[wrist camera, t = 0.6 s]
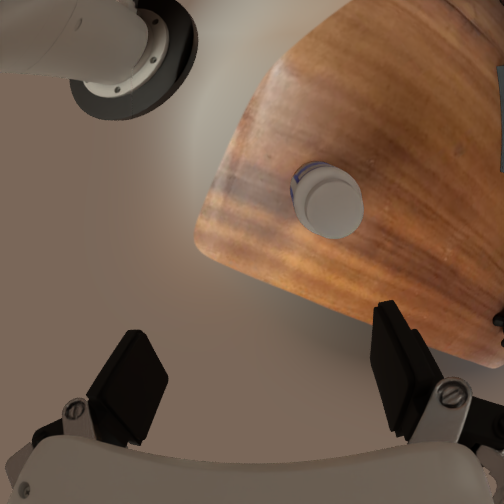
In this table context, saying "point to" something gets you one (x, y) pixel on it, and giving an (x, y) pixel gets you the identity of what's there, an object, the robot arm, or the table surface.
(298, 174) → the pill bottle
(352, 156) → the table surface
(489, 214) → the table surface
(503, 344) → the toy ball
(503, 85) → the carton
